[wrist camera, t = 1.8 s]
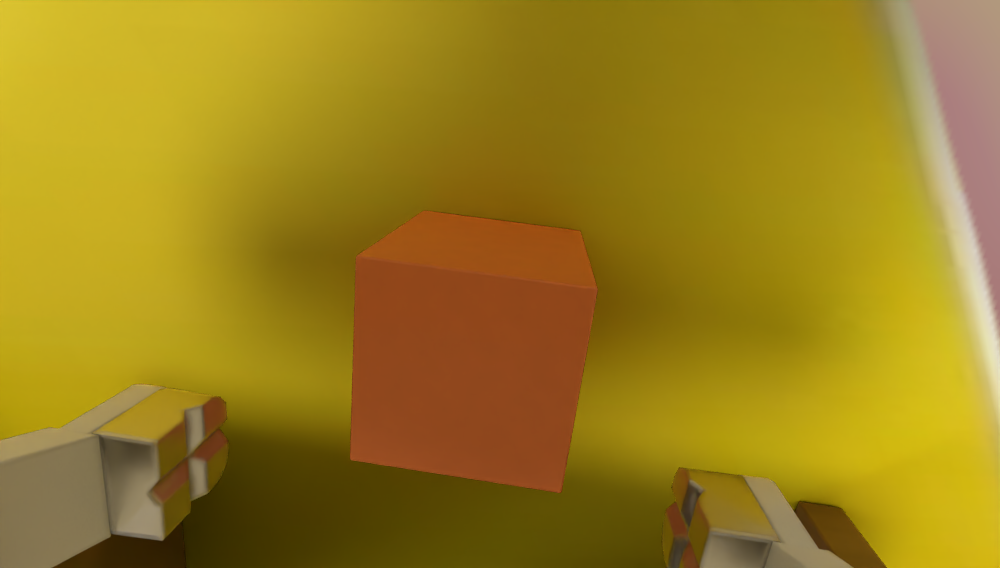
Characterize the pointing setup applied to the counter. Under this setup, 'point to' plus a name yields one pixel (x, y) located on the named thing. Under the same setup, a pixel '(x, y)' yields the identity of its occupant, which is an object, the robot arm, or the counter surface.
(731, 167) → the counter surface
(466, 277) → the orange box
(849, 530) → the shelf
